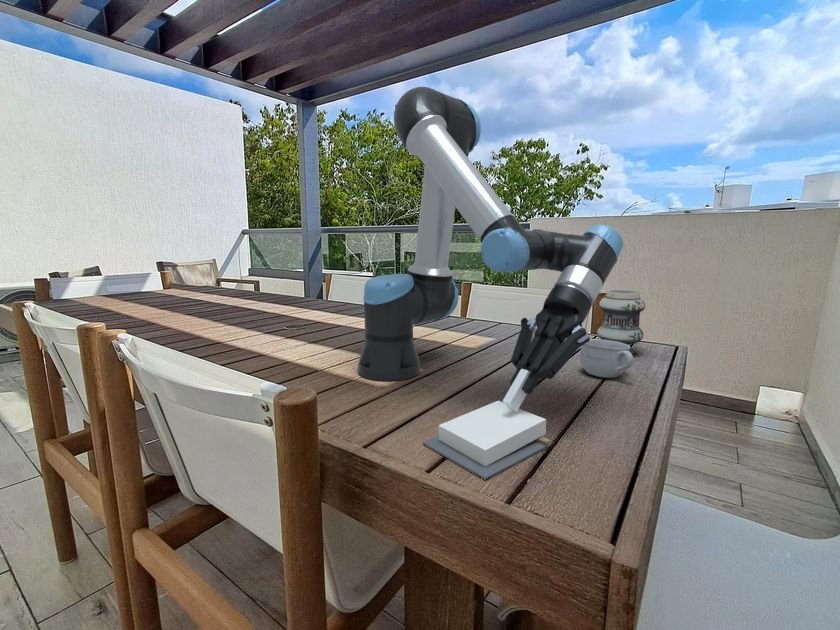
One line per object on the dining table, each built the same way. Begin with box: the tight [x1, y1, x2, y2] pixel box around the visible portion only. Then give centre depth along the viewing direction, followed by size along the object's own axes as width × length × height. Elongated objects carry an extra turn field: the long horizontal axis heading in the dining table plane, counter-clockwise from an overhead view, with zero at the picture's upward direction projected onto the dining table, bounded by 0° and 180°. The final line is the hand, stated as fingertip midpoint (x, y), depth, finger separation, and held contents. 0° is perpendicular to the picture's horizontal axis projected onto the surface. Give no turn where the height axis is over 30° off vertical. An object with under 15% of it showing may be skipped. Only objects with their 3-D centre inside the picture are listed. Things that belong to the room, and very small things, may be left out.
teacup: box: [579, 338, 634, 379], centre depth 99 cm, size 14×11×8 cm
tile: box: [437, 400, 547, 466], centre depth 66 cm, size 3×10×14 cm
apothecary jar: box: [596, 289, 646, 357], centre depth 120 cm, size 12×12×18 cm
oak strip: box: [534, 436, 552, 449], centre depth 70 cm, size 1×13×1 cm, turn 40°
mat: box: [422, 435, 551, 481], centre depth 65 cm, size 15×13×1 cm
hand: (509, 406), depth 68 cm, fingers closed
